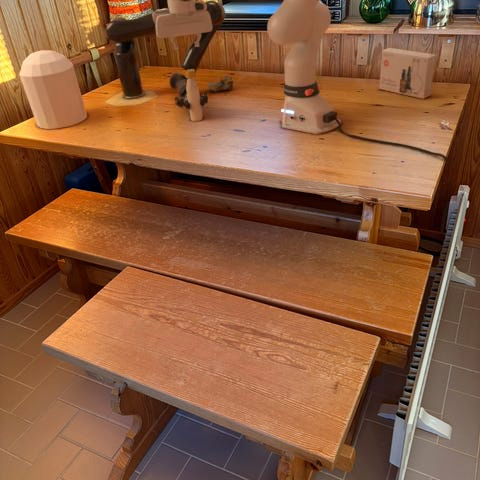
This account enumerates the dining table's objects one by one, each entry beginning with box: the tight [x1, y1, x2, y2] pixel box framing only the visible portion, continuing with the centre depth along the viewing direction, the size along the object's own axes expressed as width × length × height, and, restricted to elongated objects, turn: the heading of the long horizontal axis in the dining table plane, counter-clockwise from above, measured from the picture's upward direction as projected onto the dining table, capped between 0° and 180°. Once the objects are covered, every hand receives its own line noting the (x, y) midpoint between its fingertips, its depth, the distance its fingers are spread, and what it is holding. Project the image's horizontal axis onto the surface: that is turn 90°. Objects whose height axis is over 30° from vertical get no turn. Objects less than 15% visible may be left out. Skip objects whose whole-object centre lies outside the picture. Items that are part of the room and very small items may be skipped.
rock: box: [207, 74, 234, 93], centre depth 212 cm, size 11×6×10 cm
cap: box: [184, 69, 197, 78], centre depth 174 cm, size 4×4×2 cm
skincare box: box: [378, 47, 437, 100], centre depth 184 cm, size 21×6×16 cm, turn 40°
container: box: [19, 49, 88, 130], centre depth 189 cm, size 21×21×28 cm
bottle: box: [186, 77, 204, 122], centre depth 179 cm, size 5×5×18 cm
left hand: (195, 105), depth 178 cm, fingers closed on bottle, 5 cm apart
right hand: (186, 48), depth 169 cm, fingers open, 6 cm apart
